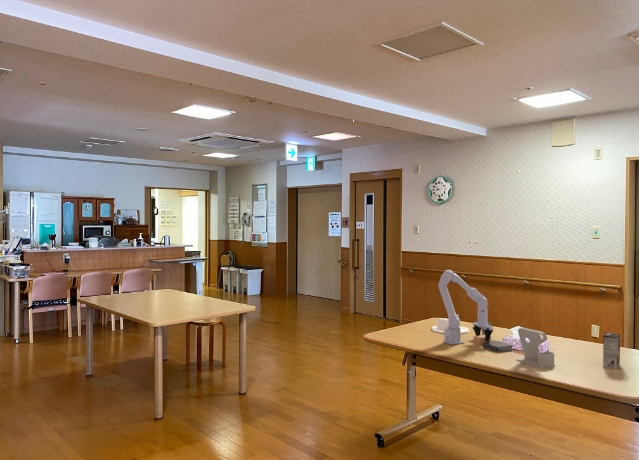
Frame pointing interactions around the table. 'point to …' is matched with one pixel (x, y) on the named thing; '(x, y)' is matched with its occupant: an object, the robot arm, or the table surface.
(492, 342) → the dark grey flat block
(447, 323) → the dish
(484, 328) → the mechanical component
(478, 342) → the housing
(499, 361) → the table surface
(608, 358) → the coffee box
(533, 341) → the phone holder
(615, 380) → the table surface
